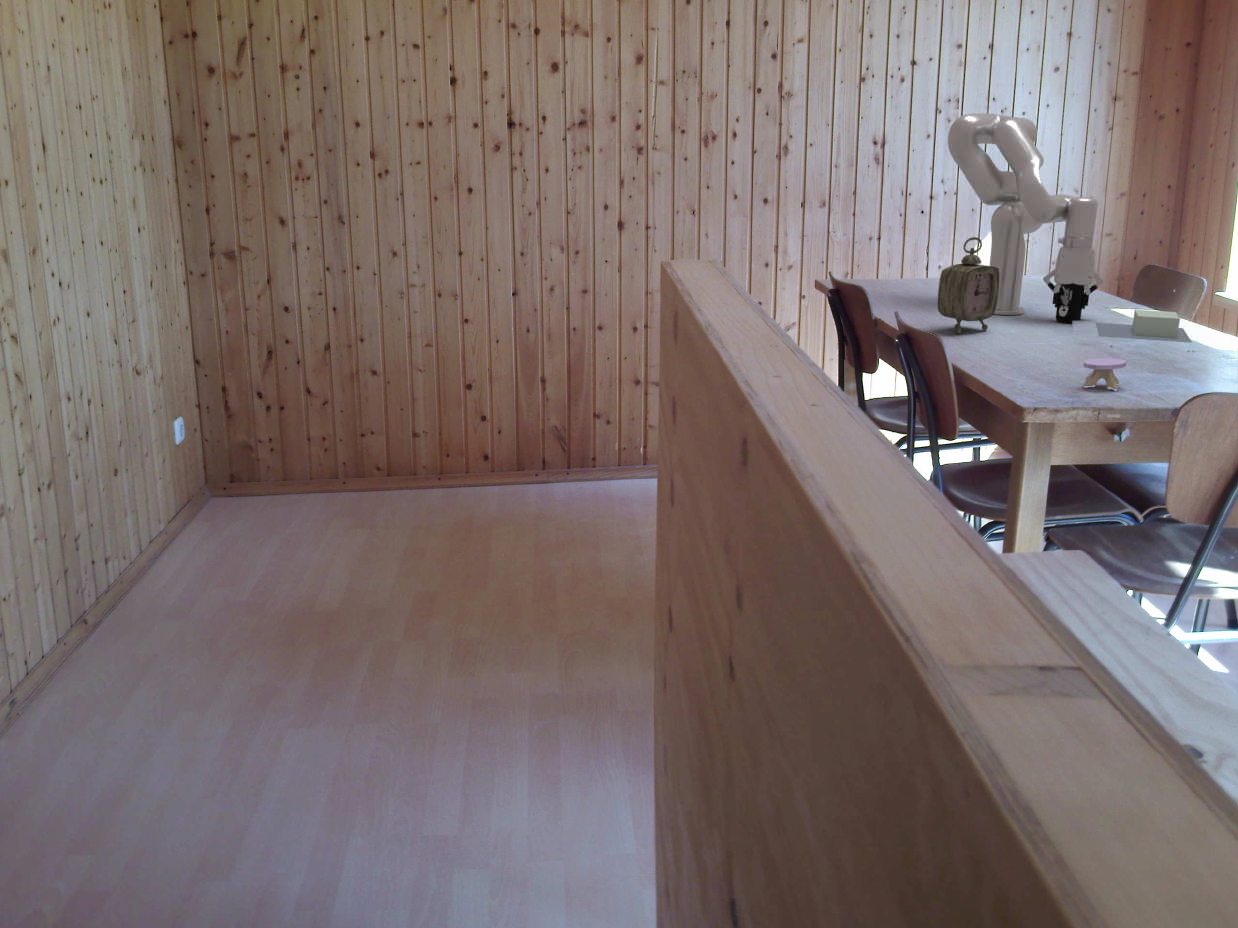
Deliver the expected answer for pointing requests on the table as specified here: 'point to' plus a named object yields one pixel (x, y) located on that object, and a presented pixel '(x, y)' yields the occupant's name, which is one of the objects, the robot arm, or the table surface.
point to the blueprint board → (1128, 332)
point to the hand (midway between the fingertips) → (1069, 307)
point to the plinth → (1156, 323)
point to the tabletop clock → (968, 290)
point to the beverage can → (1070, 303)
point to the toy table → (1103, 371)
